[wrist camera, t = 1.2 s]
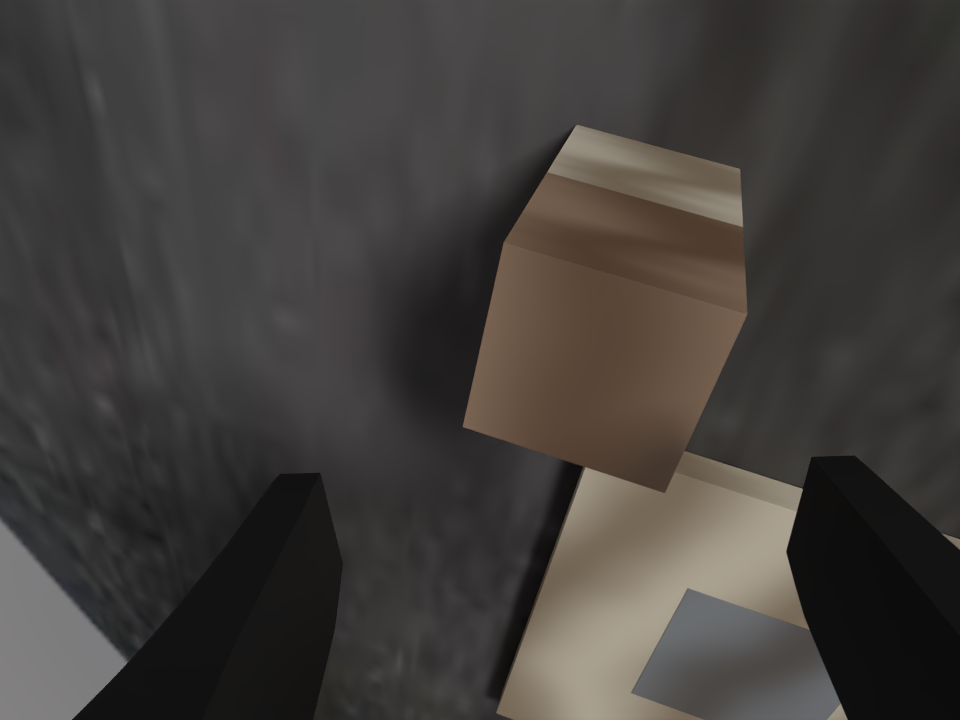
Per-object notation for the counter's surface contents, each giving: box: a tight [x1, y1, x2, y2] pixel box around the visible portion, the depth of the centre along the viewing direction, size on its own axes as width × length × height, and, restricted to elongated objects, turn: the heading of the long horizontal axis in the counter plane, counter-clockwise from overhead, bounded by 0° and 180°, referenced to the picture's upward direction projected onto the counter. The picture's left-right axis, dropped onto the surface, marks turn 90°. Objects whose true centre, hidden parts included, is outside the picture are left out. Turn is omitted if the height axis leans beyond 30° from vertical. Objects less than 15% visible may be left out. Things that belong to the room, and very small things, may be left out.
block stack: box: [463, 125, 747, 493], centre depth 18 cm, size 4×4×8 cm
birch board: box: [497, 451, 960, 720], centre depth 28 cm, size 16×16×1 cm
